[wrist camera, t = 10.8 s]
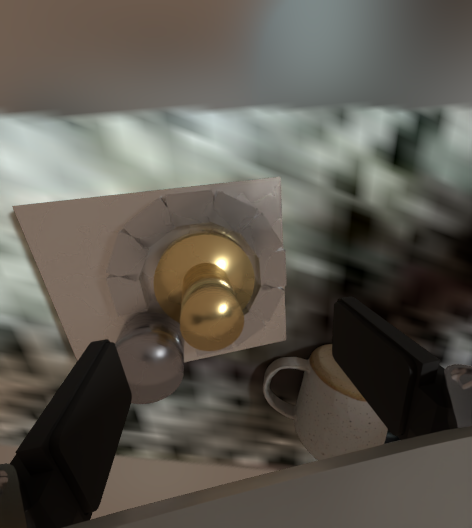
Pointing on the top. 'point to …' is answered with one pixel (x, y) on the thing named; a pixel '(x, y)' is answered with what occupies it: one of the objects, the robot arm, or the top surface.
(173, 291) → the brass door knob
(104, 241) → the carrier
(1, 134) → the top surface
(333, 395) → the ceramic mug
